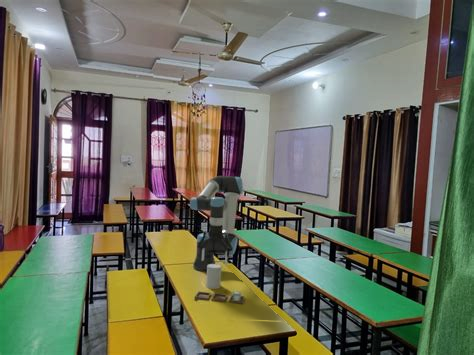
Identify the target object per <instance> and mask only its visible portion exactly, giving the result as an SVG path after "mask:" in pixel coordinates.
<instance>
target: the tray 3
mask: <svg viewBox="0 0 474 355" xmlns="http://www.w3.org/2000/svg"><path fill="white" fill-rule="evenodd" d="M244 300H245V296H242V295H241V301H233V294H232V295H230V297H229V299H228V303H230V304H239V305H244Z"/></svg>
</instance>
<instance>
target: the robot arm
mask: <svg viewBox="0 0 474 355" xmlns="http://www.w3.org/2000/svg"><path fill="white" fill-rule="evenodd" d="M243 185H244V184H243V179H242V178H241V177H239V176H230V175H227V176H226V175H218V176H214V177H212V178H210V179H209V180H207V182H206V184H205V185H204V186H205V187H204V188H203V189H202V191H201V192H200V193H199V195H198V196H195V197H194V196H192V197H191V198H190V199H189V200H190V201H189V207H190V209H191V210H194V211H205V212H207V211H208V212H210V215H209V230H208V232H207V231H204V232H202V233H199V234H198V235H197V239H196V256H195V259H194V261H193V266H192V268H193V269H194V270H196V271H200V272H207V265H209V264H217V263H216V261H215V260H216V259H215V257H214V256H215V255H214V254H221V255H225V258H224V259H225V260H224V263H225V264H227V263H228V258H229V257H230V256H232V255H235V252H236V249H237V246H238V237H236V236H237V235H236V233H235V224H236V216H237V206H238V199H239V198H240V197H241V195H242V194H243V192H244V186H243ZM217 193H223V196H224V197H225V198H224V197H220V196H214V195H215V194H217ZM213 196H214V197H213Z"/></svg>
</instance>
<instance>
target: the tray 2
mask: <svg viewBox="0 0 474 355" xmlns="http://www.w3.org/2000/svg"><path fill="white" fill-rule="evenodd" d="M228 297H229V296H228V294H226V293H225V294H224V293H216V292H215V293H213V295H212V297H211V298H210V299H211V301H212V302H220V303H221V302H222V303H226V301H227V299H228Z"/></svg>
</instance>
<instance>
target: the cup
mask: <svg viewBox="0 0 474 355" xmlns="http://www.w3.org/2000/svg"><path fill="white" fill-rule="evenodd" d="M221 276H222V265H221V264H219V263H216V264H209V265H207V271H206V281H205V283H206V284H205V286H206V288H207V289H212V290H215V289H219V288H220V287H221V282H222V280H221V278H222V277H221Z"/></svg>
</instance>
